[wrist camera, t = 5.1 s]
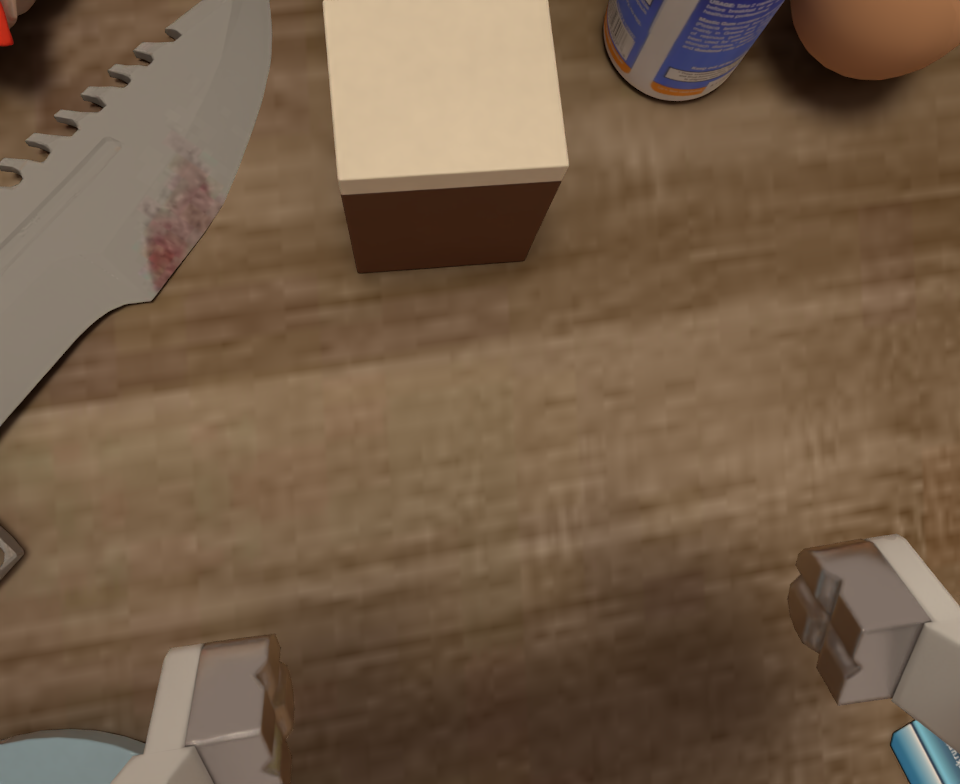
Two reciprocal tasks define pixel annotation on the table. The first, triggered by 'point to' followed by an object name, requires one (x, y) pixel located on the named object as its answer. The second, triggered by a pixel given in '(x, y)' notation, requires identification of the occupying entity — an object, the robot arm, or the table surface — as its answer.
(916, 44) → the egg
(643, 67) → the pill bottle
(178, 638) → the table surface
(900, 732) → the credit card
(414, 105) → the cake slice
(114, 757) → the plate
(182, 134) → the knife
